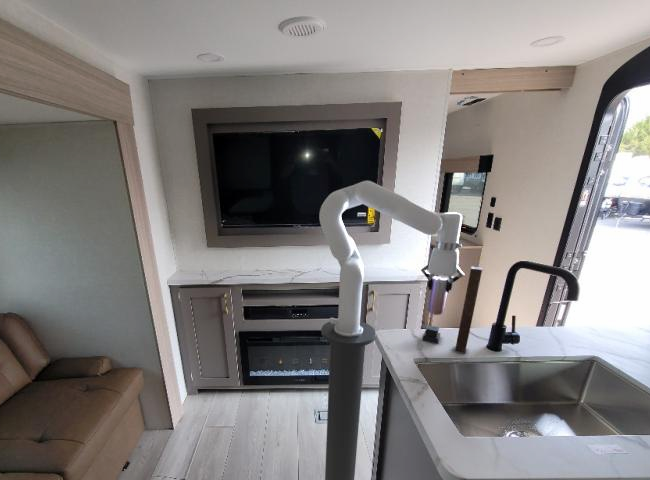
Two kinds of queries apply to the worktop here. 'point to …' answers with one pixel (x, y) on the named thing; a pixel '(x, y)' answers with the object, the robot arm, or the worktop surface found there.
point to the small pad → (432, 331)
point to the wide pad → (431, 338)
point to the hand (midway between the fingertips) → (439, 290)
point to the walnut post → (468, 308)
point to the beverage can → (438, 295)
